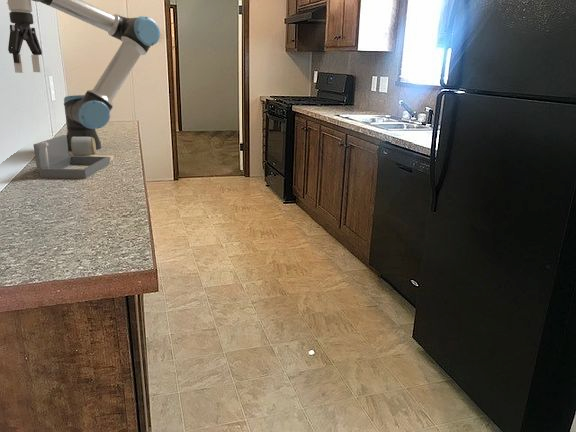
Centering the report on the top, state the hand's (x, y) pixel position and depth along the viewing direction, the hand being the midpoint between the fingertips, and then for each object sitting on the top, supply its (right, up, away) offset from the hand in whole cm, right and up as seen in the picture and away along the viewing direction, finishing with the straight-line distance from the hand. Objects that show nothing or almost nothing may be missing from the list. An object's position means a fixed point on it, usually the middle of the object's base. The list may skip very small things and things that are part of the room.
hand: (28, 72), depth 179 cm
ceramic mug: (+21, -31, +8) cm, 39 cm away
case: (+24, -39, -11) cm, 47 cm away
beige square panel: (+21, -32, +8) cm, 40 cm away
